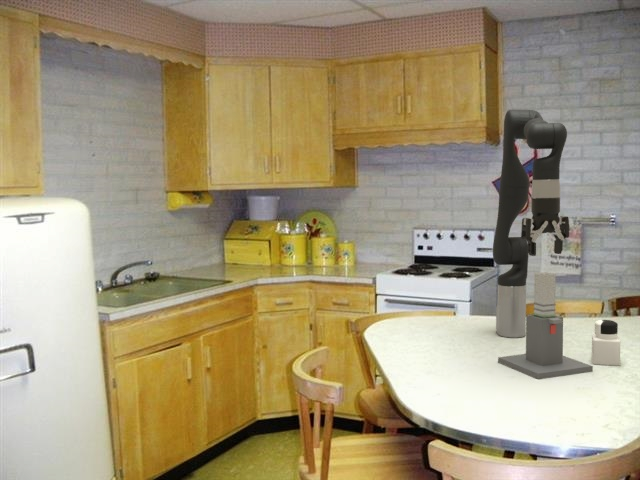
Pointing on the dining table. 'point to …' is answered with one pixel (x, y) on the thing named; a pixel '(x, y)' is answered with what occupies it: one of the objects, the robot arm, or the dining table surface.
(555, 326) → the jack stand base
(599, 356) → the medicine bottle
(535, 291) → the steel column
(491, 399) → the dining table surface
